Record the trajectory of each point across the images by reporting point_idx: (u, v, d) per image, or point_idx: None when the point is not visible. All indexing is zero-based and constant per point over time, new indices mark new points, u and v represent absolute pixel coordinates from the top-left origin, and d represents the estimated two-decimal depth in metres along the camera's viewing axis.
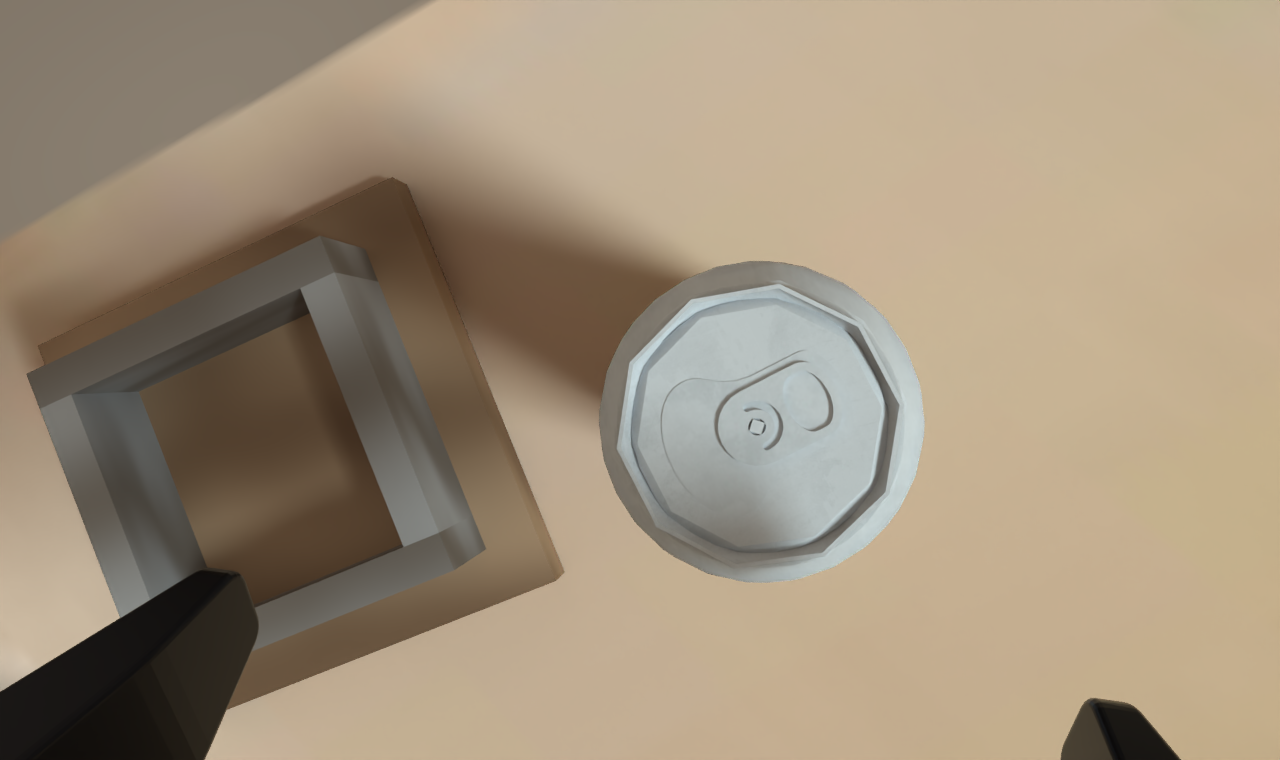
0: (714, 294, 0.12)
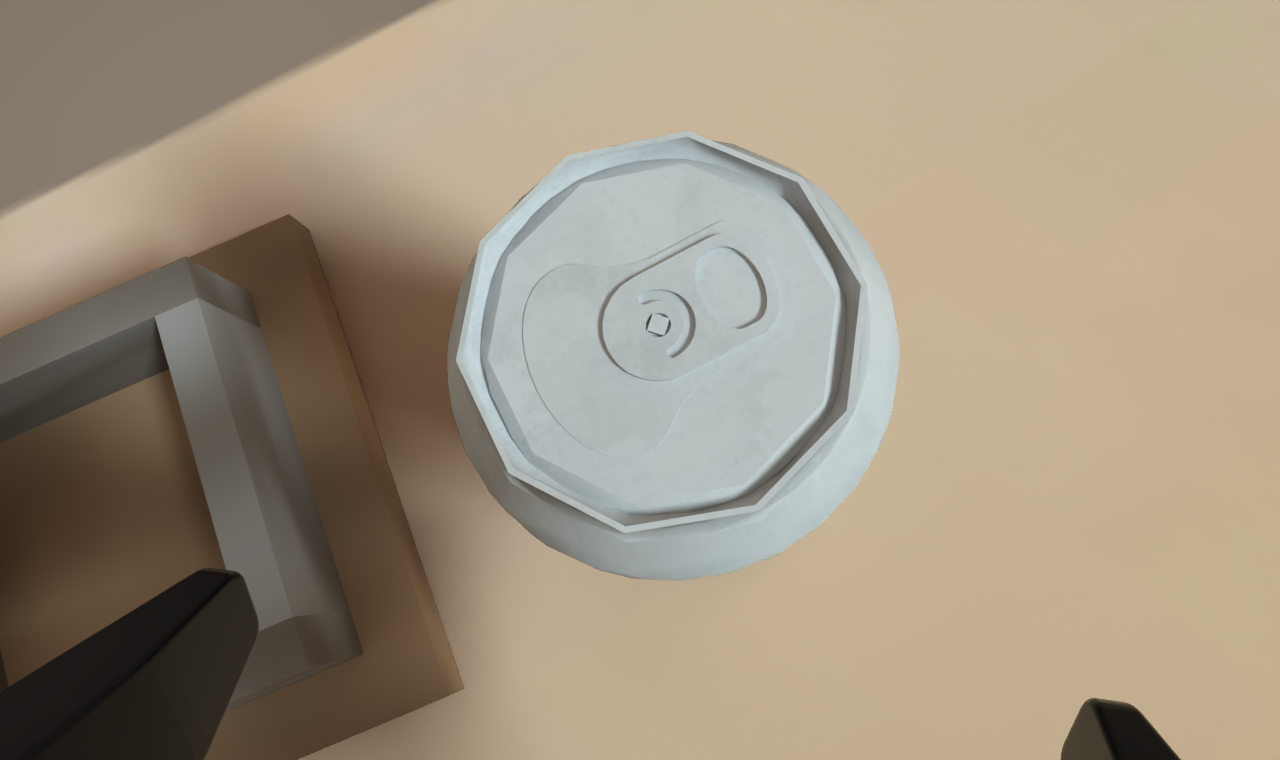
0: (600, 150, 0.09)
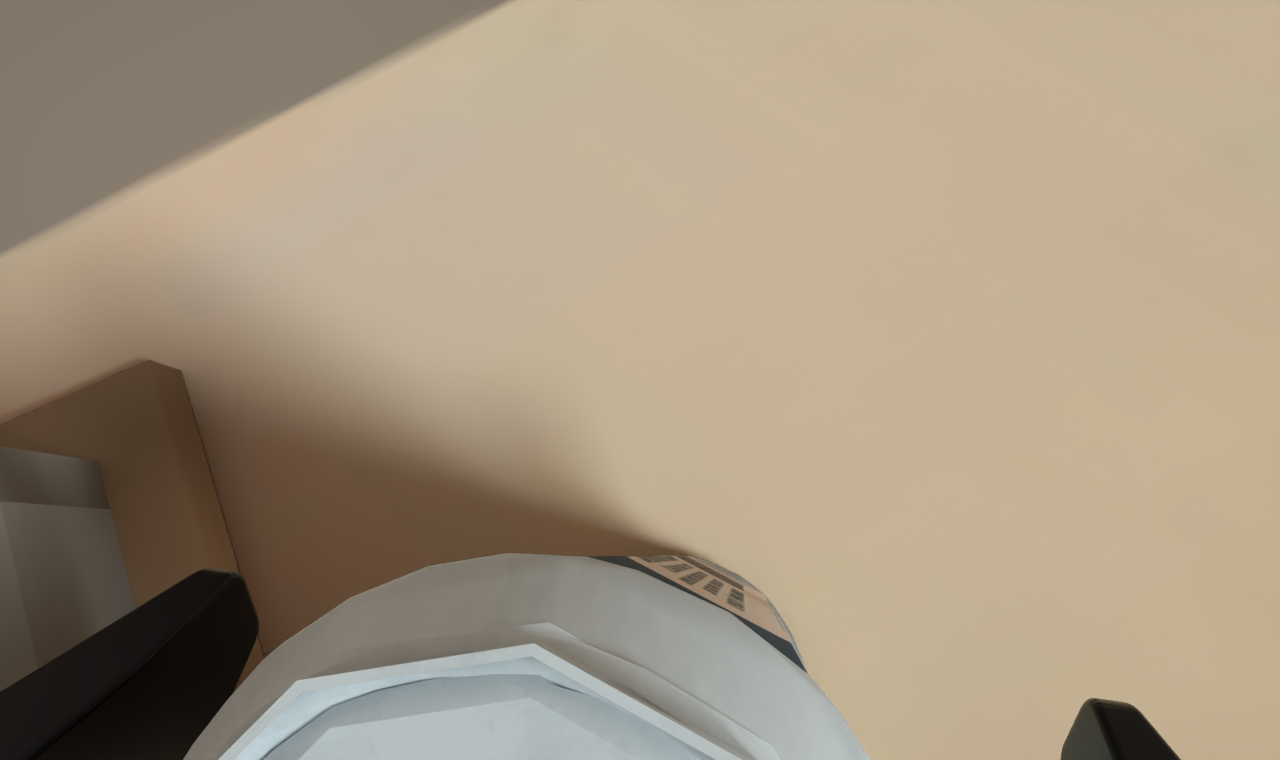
0: (365, 665, 0.04)
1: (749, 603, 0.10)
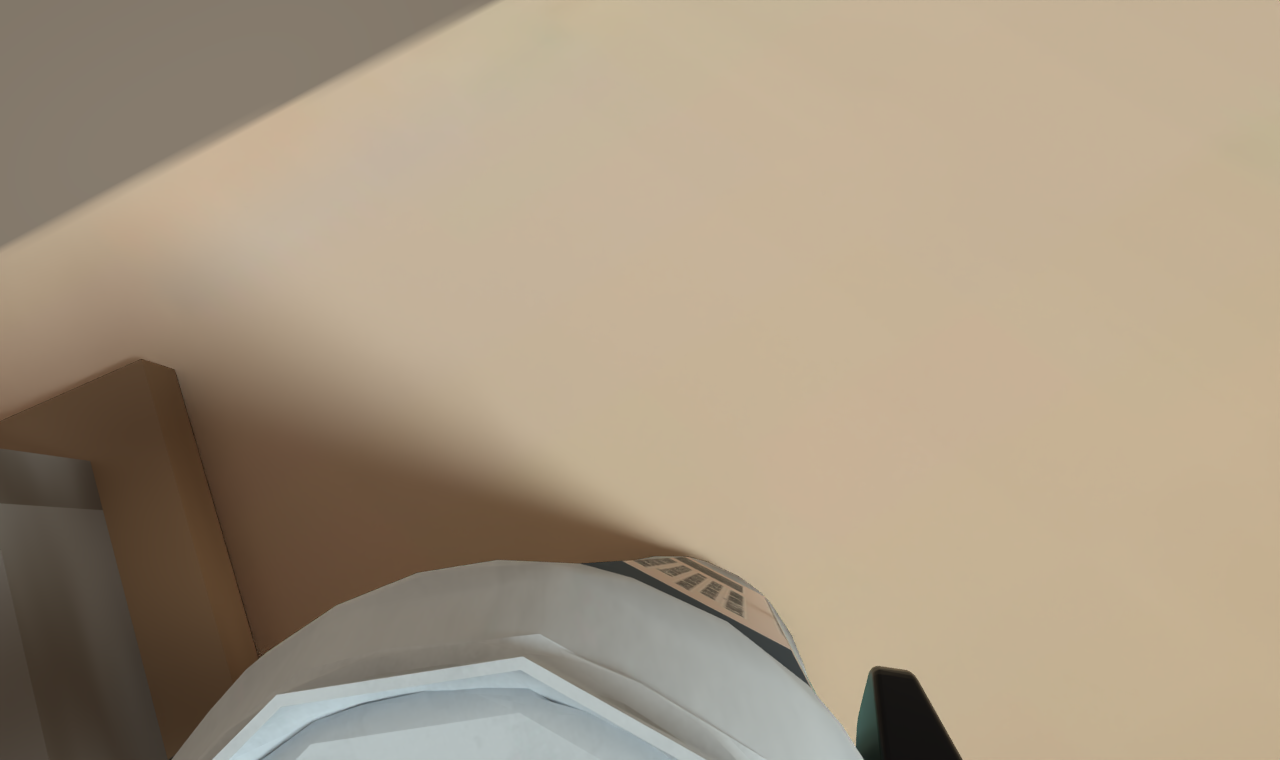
0: (347, 678, 0.04)
1: (748, 607, 0.10)
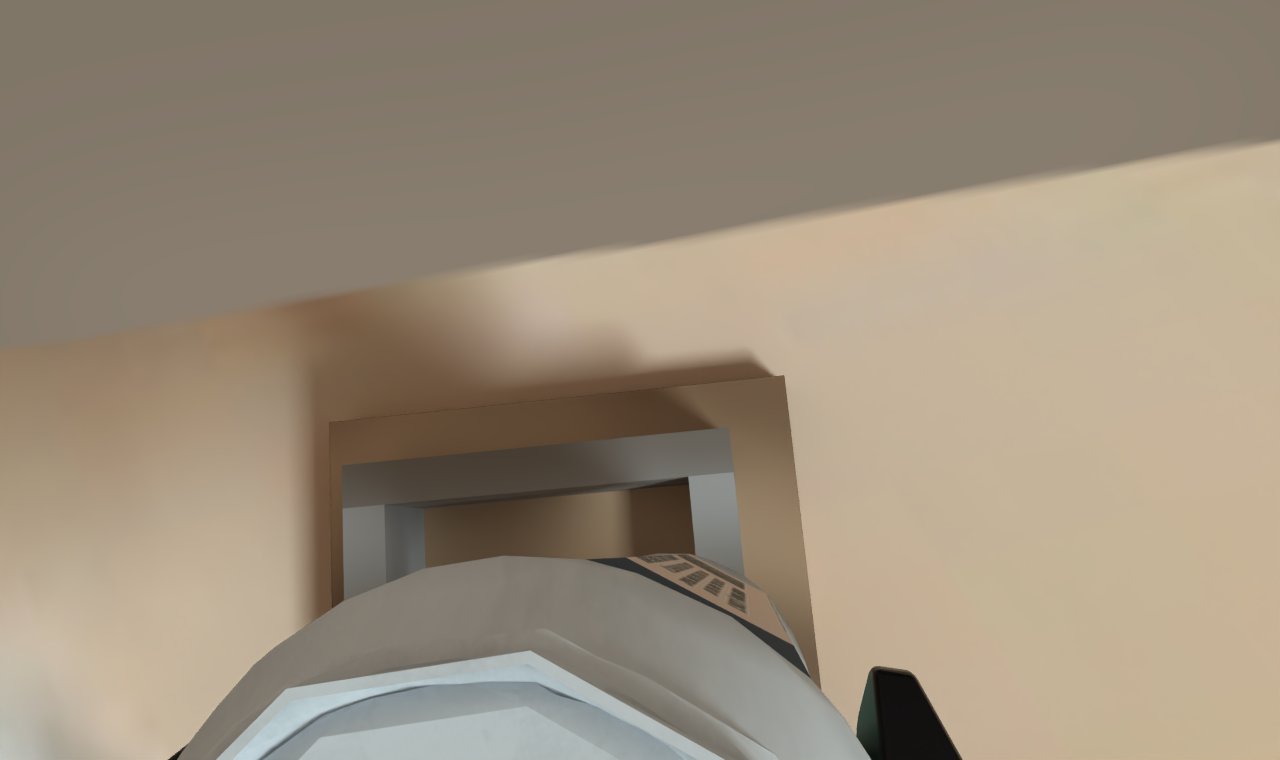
0: (356, 672, 0.04)
1: (750, 603, 0.10)
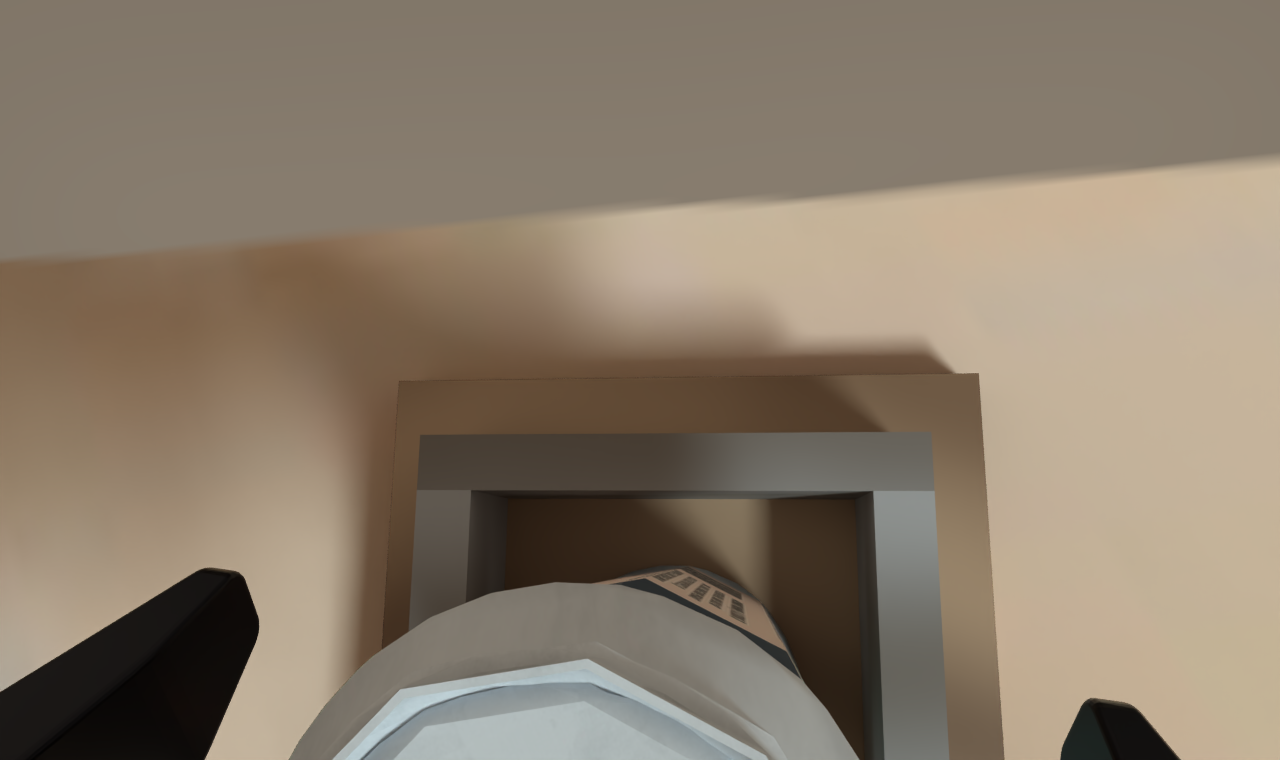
0: (453, 676, 0.06)
1: (748, 613, 0.11)
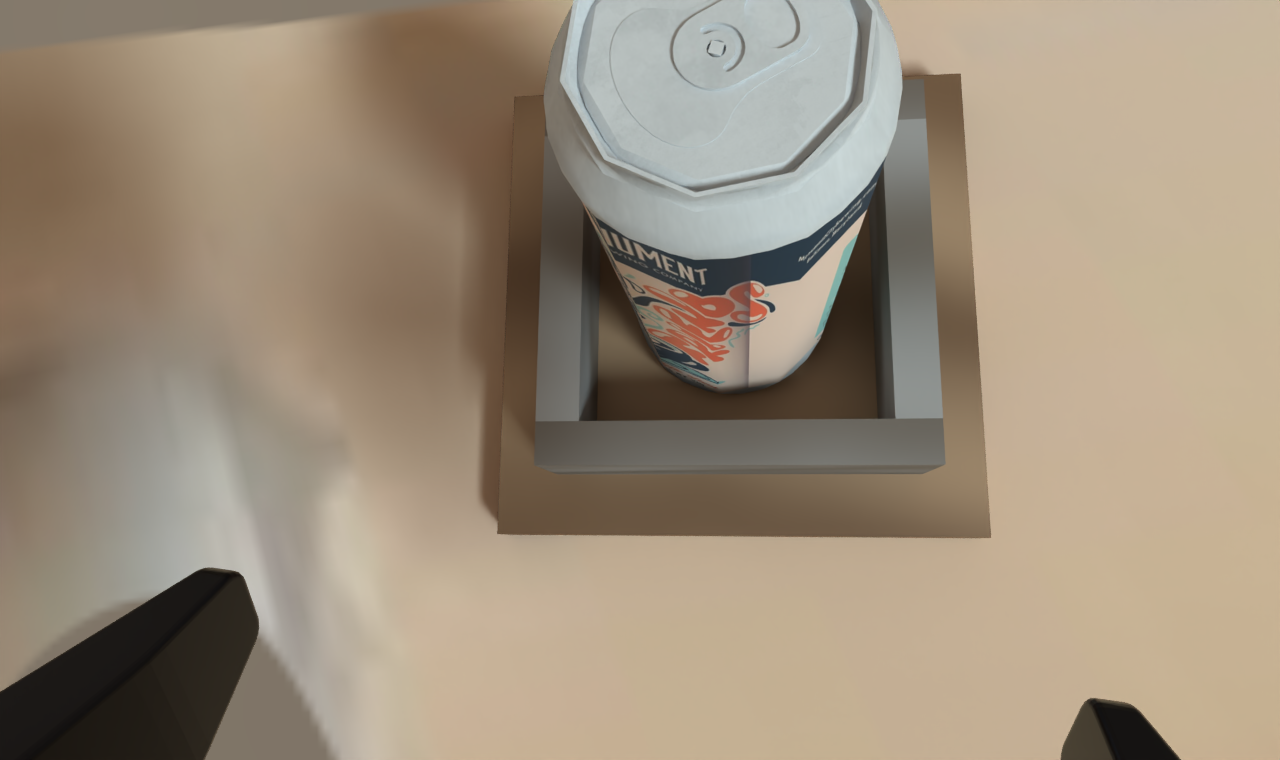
0: None
1: None
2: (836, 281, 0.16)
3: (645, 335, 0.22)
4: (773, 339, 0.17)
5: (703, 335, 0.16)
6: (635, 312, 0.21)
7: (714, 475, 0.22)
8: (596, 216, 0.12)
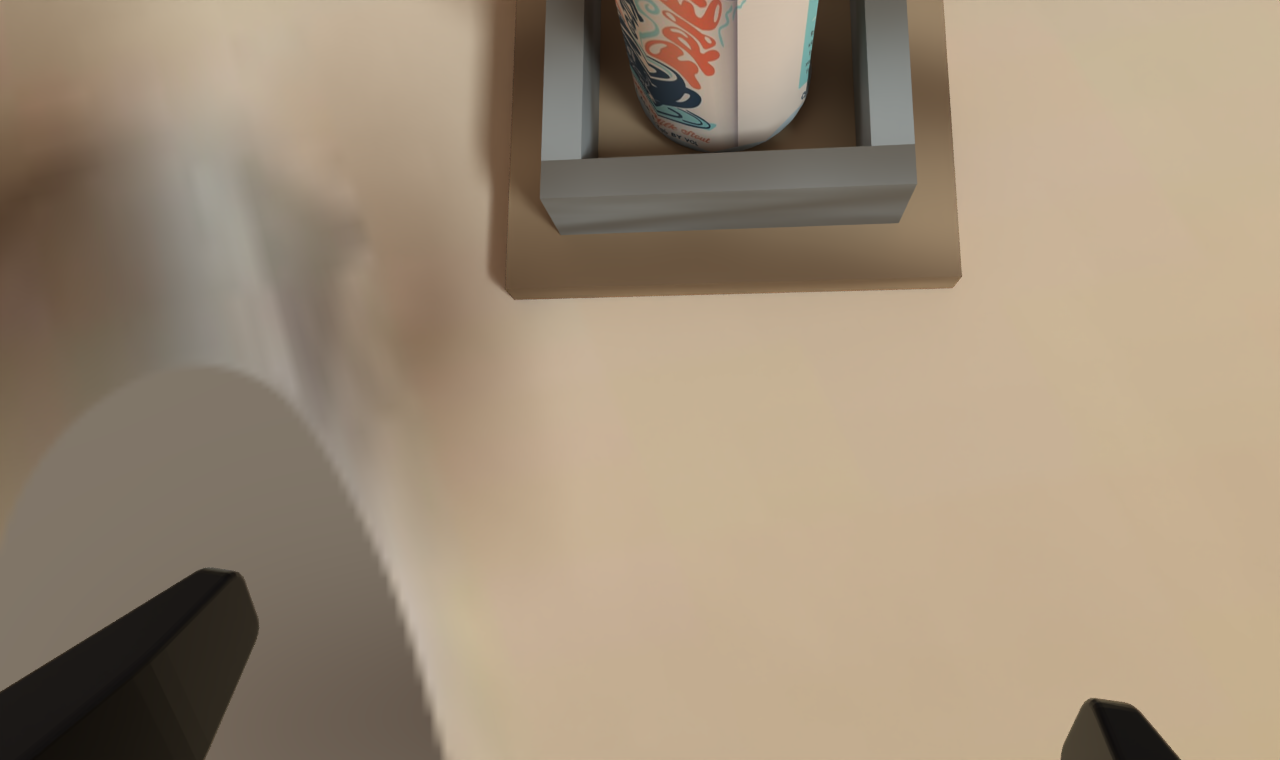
0: None
1: None
2: None
3: (642, 104, 0.24)
4: (759, 38, 0.18)
5: (695, 17, 0.17)
6: (633, 69, 0.22)
7: (706, 231, 0.23)
8: None
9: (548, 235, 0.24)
